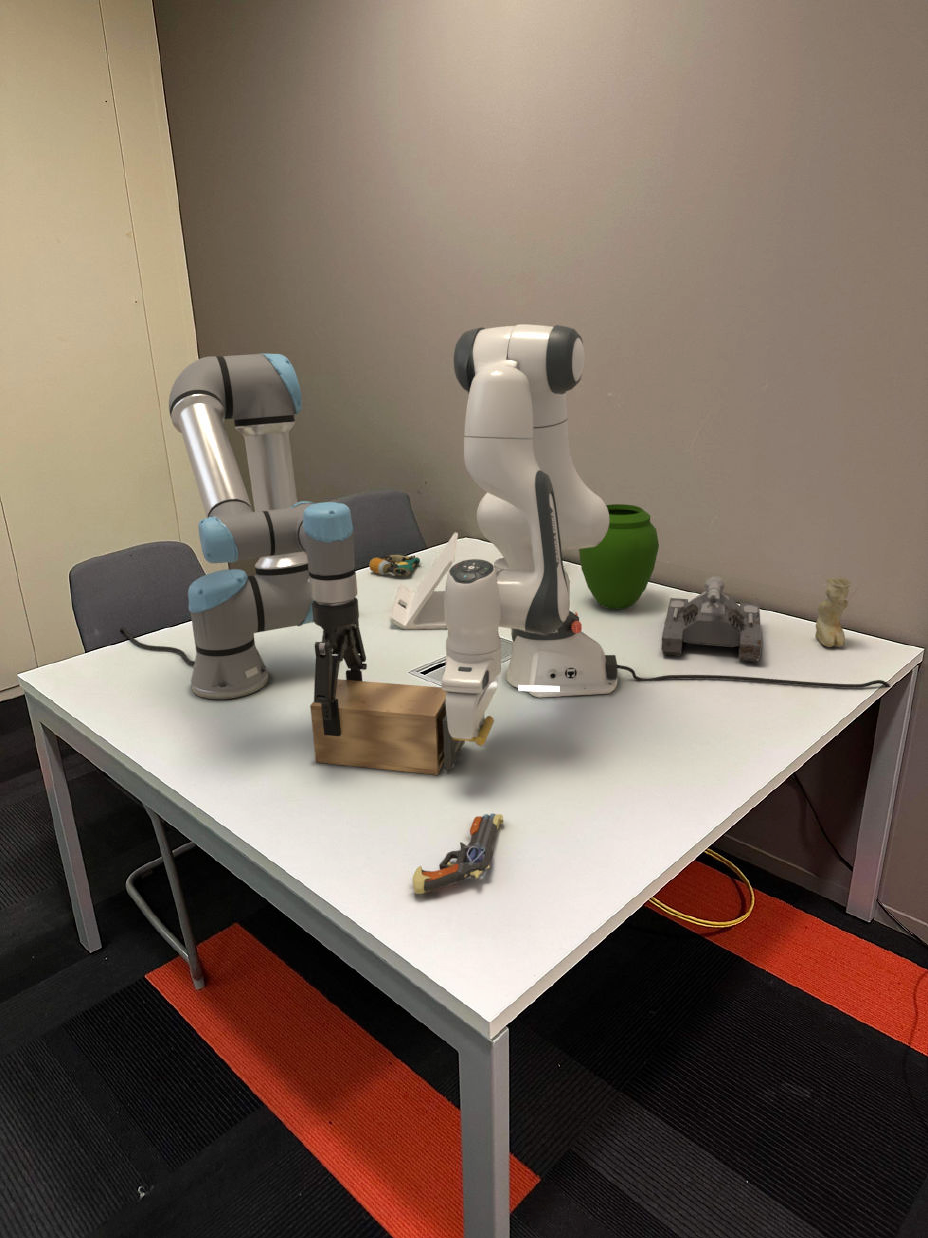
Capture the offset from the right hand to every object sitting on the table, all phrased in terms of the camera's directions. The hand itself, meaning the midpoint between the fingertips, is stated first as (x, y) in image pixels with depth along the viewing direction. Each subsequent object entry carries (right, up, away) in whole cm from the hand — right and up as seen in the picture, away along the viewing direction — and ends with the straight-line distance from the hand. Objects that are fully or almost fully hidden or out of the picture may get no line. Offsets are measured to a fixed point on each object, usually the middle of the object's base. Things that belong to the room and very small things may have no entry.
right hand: (475, 737), depth 142 cm
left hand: (-23, +2, +5) cm, 23 cm away
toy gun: (-3, -14, -23) cm, 27 cm away
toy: (+53, +15, +48) cm, 73 cm away
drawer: (-10, -3, +4) cm, 11 cm away
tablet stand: (-10, +22, +72) cm, 76 cm away
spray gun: (-21, +34, +105) cm, 112 cm away
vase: (+36, +23, +72) cm, 84 cm away
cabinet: (-16, -3, +5) cm, 17 cm away
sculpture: (+78, +14, +45) cm, 91 cm away
